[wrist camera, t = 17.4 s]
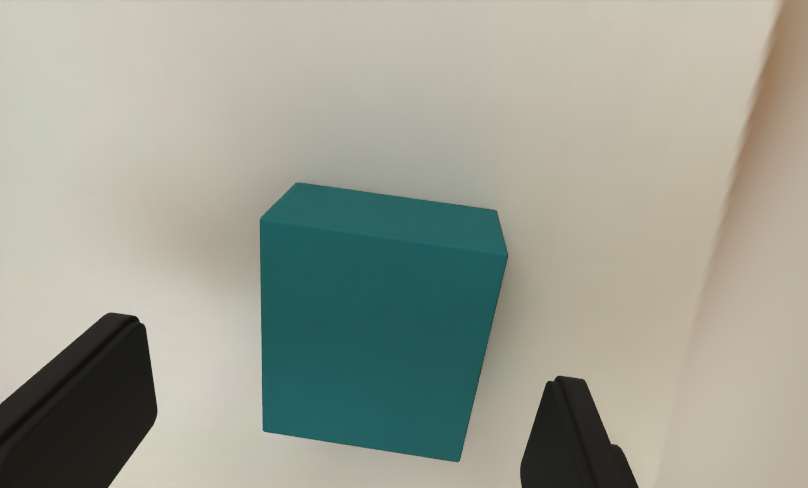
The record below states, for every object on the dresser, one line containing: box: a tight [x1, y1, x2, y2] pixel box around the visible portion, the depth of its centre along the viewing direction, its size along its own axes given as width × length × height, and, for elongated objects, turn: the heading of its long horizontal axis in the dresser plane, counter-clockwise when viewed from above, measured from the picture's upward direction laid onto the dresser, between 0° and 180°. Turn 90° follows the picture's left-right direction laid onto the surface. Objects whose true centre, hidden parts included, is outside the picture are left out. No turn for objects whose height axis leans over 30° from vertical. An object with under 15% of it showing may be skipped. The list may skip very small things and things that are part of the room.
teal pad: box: [260, 183, 508, 462], centre depth 14 cm, size 6×7×3 cm
